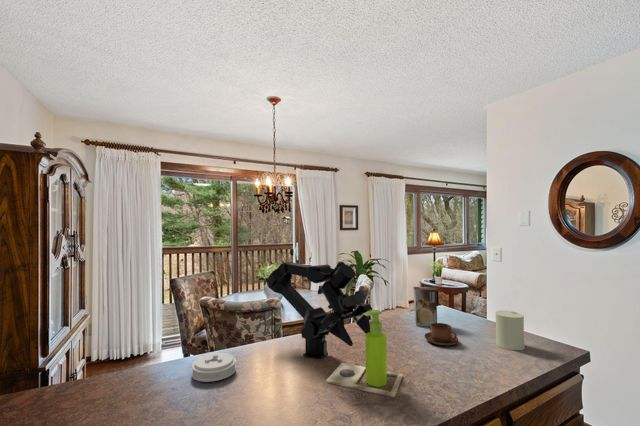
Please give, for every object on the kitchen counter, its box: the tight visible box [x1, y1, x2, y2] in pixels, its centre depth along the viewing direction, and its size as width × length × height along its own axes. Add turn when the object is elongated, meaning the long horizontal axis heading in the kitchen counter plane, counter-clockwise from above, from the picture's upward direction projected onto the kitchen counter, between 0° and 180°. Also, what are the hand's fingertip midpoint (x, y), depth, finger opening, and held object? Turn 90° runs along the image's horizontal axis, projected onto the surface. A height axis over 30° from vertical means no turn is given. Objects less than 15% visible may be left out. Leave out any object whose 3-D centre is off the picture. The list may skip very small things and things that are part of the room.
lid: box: [191, 352, 237, 383], centre depth 96 cm, size 13×13×5 cm
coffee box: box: [413, 286, 438, 327], centre depth 142 cm, size 9×6×16 cm
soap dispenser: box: [363, 309, 388, 388], centre depth 91 cm, size 6×7×20 cm
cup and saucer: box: [424, 322, 459, 347], centre depth 121 cm, size 12×12×6 cm
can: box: [494, 310, 526, 351], centre depth 118 cm, size 9×9×12 cm
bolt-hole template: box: [326, 362, 404, 398], centre depth 92 cm, size 19×12×1 cm, turn 66°
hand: (362, 341), depth 95 cm, fingers open, 9 cm apart
